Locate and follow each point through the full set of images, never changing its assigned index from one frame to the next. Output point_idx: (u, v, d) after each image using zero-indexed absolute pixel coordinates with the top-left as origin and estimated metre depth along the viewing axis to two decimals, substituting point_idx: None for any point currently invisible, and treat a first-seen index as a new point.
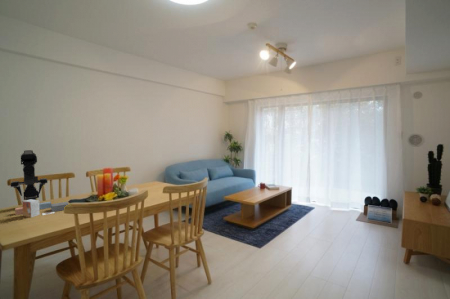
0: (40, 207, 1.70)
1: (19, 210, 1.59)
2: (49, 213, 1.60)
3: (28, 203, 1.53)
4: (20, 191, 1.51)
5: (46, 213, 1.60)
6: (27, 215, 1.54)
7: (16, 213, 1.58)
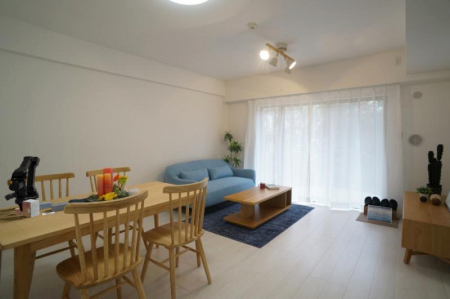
0: (40, 207, 1.70)
1: (19, 210, 1.59)
2: (49, 213, 1.60)
3: (28, 203, 1.53)
4: None
5: (46, 213, 1.60)
6: (27, 215, 1.54)
7: (16, 213, 1.58)
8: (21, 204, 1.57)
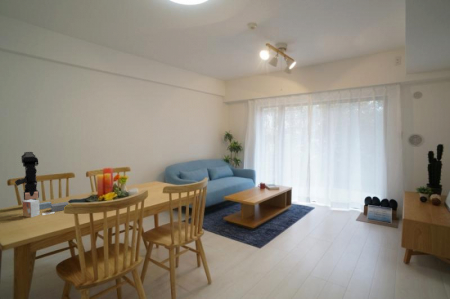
0: (40, 207, 1.70)
1: (29, 195, 1.60)
2: (49, 213, 1.60)
3: (28, 203, 1.53)
4: None
5: (46, 213, 1.60)
6: (27, 215, 1.54)
7: (26, 198, 1.59)
8: (31, 189, 1.60)
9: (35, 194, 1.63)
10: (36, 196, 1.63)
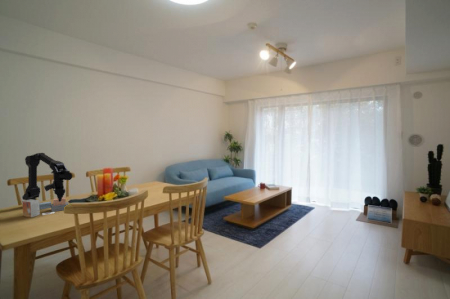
0: (40, 207, 1.70)
1: (57, 201, 1.66)
2: (49, 213, 1.60)
3: (28, 203, 1.53)
4: None
5: (46, 213, 1.60)
6: (27, 215, 1.54)
7: (54, 203, 1.65)
8: (59, 194, 1.65)
9: (63, 200, 1.69)
10: (64, 202, 1.69)
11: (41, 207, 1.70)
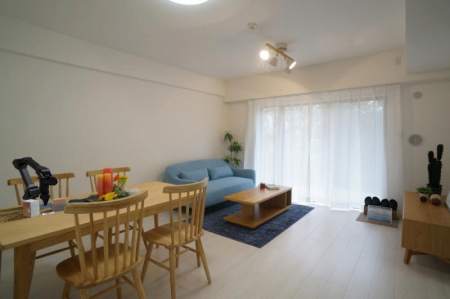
0: (40, 207, 1.70)
1: (57, 201, 1.66)
2: (49, 213, 1.60)
3: (28, 203, 1.53)
4: None
5: (46, 213, 1.60)
6: (27, 215, 1.54)
7: (54, 203, 1.65)
8: (45, 199, 1.70)
9: (63, 200, 1.69)
10: (64, 202, 1.69)
11: (41, 207, 1.70)
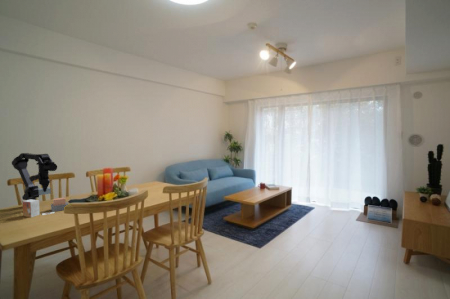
0: (40, 192, 1.69)
1: (57, 201, 1.66)
2: (49, 213, 1.60)
3: (28, 203, 1.53)
4: None
5: (46, 213, 1.60)
6: (27, 215, 1.54)
7: (54, 203, 1.65)
8: (44, 185, 1.70)
9: (63, 200, 1.69)
10: (64, 202, 1.69)
11: (40, 192, 1.69)
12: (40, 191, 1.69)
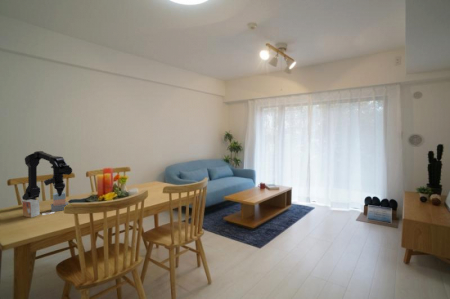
0: (54, 197, 1.65)
1: (57, 201, 1.66)
2: (49, 213, 1.60)
3: (28, 203, 1.53)
4: (56, 189, 1.72)
5: (46, 213, 1.60)
6: (27, 215, 1.54)
7: (54, 203, 1.65)
8: (59, 189, 1.64)
9: (63, 200, 1.69)
10: (64, 202, 1.69)
11: (55, 197, 1.66)
12: (55, 196, 1.66)
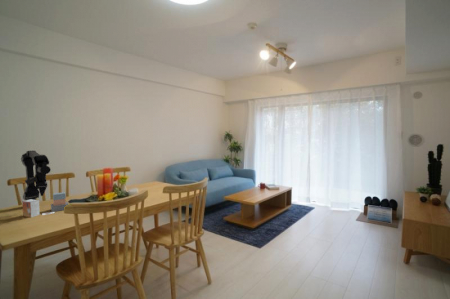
0: (54, 197, 1.65)
1: (57, 201, 1.66)
2: (49, 213, 1.60)
3: (28, 203, 1.53)
4: None
5: (46, 213, 1.60)
6: (27, 215, 1.54)
7: (54, 203, 1.65)
8: (41, 188, 1.58)
9: (63, 200, 1.69)
10: (64, 202, 1.69)
11: (55, 197, 1.66)
12: (55, 196, 1.66)
